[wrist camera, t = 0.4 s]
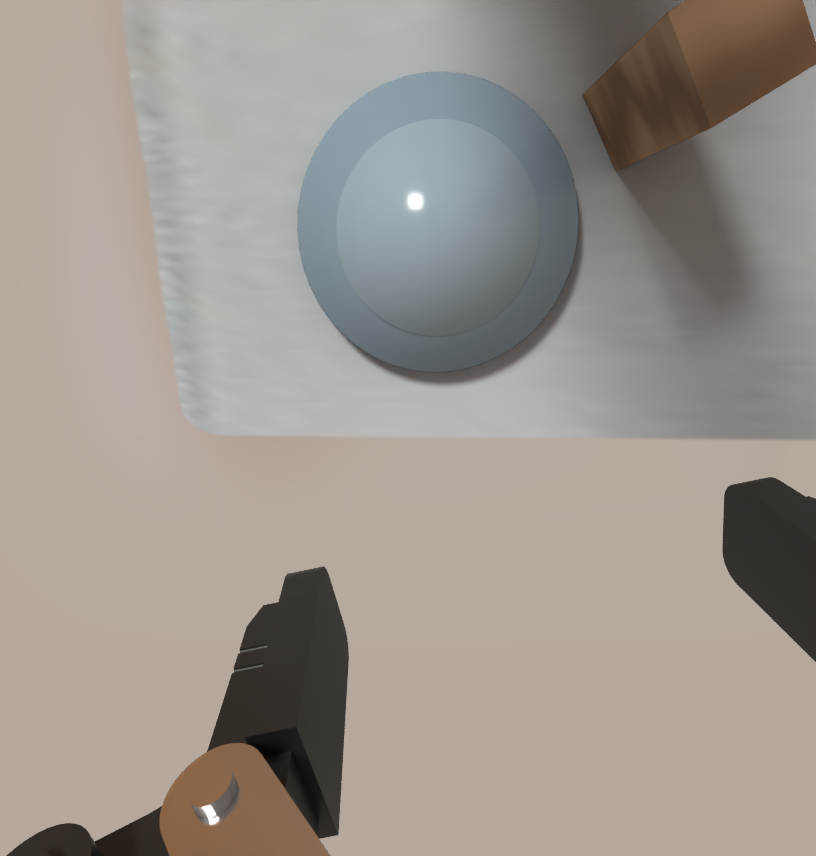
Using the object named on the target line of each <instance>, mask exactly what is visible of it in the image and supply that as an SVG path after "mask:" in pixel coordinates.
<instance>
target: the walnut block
mask: <svg viewBox="0 0 816 856" xmlns="http://www.w3.org/2000/svg"><path fill="white" fill-rule="evenodd" d="M815 64H816V42H815V39H814V36H813V32H812V29H811V26H810V23H809V20H808V16H807V13H806V10H805V7H804V3H803V0H686V1H684V2H683V3H681V4H680V5H678V6H677V7H675V8H674V9H672V10H670V11H669V12H668V13H666V14H665V15H664V16H663V17H662V18H661V19H660V20H659V21H658V22H657V23H656V24H655V25H654V26H653V27H652V28H651V29H650V30H649V31H648V32H647V33H646V34H645V35H644V36H643V37H642V38H641V39H640V40H639V41H638V42H637V43H636V44H635V45H634V46H633V47H631V48H630V49H629V50H628V51H627V52H626V53H625V54H624V55H623V56H622V57H621V58H620V59H619V60H618V61H617V62H616V63H615V64H614V65H613V66H612V67H611V68H610V69H609V70H608V71H607V72H606V73H605V74H604V75H603V76H602V77H601V78H600V79H599V80H598V81H596V82H595V83H594V84H593V85H592V86H591V87H590V88H589V89H588V90H587V91H586V92H585V93H584V94H583V97H584V99H585V102H586V104H587V106H588V109H589V111H590V113H591V116H592V118H593V120H594V122H595V125H596V127H597V129H598V132H599V134H600V136H601V139H602V141H603V143H604V145H605V148H606V150H607V152H608V155H609V157H610V159H611V162H612V164H613V166H614V169H615V171H617V170H620V169H622V168H624V167H626V166H628V165H631V164H633V163H635V162H637V161H639V160H642V159H644V158H646V157H648V156H650V155H653V154H655V153H657V152H659V151H661V150H664V149H666V148H668V147H670V146H672V145H675V144H677V143H679V142H681V141H683V140H686V139H688V138H690V137H692V136H694V135H697V134H699V133H701V132H703V131H705V130H707V129H710V128H712V127H713V126H715V125H717V124H718V123H720V122H722V121H723V120H725V119H726V118H728V117H730V116H731V115H733V114H735V113H736V112H738V111H740V110H741V109H743V108H745V107H746V106H748V105H750V104H751V103H753V102H754V101H756V100H758V99H759V98H761V97H763V96H764V95H766V94H768V93H769V92H771V91H773V90H774V89H776V88H777V87H779V86H781V85H782V84H784V83H786V82H787V81H789V80H791V79H792V78H794V77H796V76H797V75H799V74H800V73H802V72H804V71H805V70H807V69H809V68H810V67H812V66H814V65H815Z"/></svg>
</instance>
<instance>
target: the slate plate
mask: <svg viewBox="0 0 816 856" xmlns="http://www.w3.org/2000/svg"><path fill="white" fill-rule="evenodd" d="M297 230H298V241H299V250H300V254H301V259H302V264H303V268H304V271H305V274H306V277H307V279H308V282H309V285H310V287H311V289H312V291H313V293H314V295H315V297H316V299H317V301H318V303H319V305H320V306H321V308H322V309H323V311H324V312H325V314H326V315H327V317H328V318H329V319H330V320H331V321H332V323H333V324H334V325H335V326H336V327H337V328H338V330H339V331H340V332H341V333H342V334H344V335H345V336H346V337H347V338H348V339H349V340H350V341H351V342H352V343H354V344H355V345H357V346H358V347H359V348H361V349H362V350H364V351H365V352H367V353H368V354H370V355H372V356H374V357H376V358H378V359H380V360H382V361H384V362H387V363H390V364H392V365H395V366H398V367H402V368H406V369H411V370H415V371H426V372H447V371H454V370H460V369H466V368H469V367H473V366H476V365H479V364H483V363H485V362H487V361H489V360H492V359H494V358H496V357H498V356H500V355H501V354H503V353H505V352H506V351H508V350H510V349H511V348H513V347H514V346H516V345H517V344H518V343H519V342H521V341H522V340H523V339H524V338H526V337H527V336H528V335H529V334H530V333H531V332H532V331H533V330H534V329H535V328H536V327H537V326H538V325H539V324H540V323H541V321H542V320H543V319H544V318H545V316H546V315H547V314H548V312H549V311H550V310H551V308H552V307H553V305H554V303H555V302H556V300H557V298H558V297H559V295H560V293H561V291H562V289H563V287H564V284H565V282H566V280H567V278H568V275H569V272H570V269H571V265H572V262H573V259H574V254H575V249H576V243H577V236H578V204H577V195H576V190H575V185H574V180H573V177H572V174H571V171H570V168H569V165H568V162H567V159H566V157H565V155H564V153H563V151H562V149H561V147H560V145H559V143H558V141H557V140H556V138H555V136H554V135H553V133H552V132H551V130H550V129H549V127H548V126H547V125H546V124H545V122H544V121H543V120H542V119H541V118H540V117H539V116H538V115H537V113H536V112H535V111H534V110H533V109H532V108H530V107H529V106H528V105H527V104H526V103H525V102H523V101H522V100H521V99H520V98H519V97H517V96H515V95H514V94H512V93H511V92H509V91H507V90H506V89H504V88H503V87H501V86H498V85H496V84H494V83H492V82H489V81H487V80H485V79H481V78H478V77H474V76H470V75H467V74H460V73H451V72H427V73H420V74H415V75H410V76H405V77H402V78H399V79H397V80H394V81H391V82H388V83H386V84H384V85H382V86H380V87H378V88H376V89H374V90H372V91H370V92H369V93H367V94H366V95H364V96H363V97H362V98H360V99H359V100H358V101H356V102H355V103H353V104H352V105H351V106H350V107H349V108H348V109H347V110H346V111H345V112H344V113H343V114H342V115H341V116H340V117H339V118H338V119H337V120H336V121H335V122H334V124H333V125H332V126H331V128H330V129H329V130H328V131H327V133H326V134H325V135H324V137H323V139H322V140H321V142H320V144H319V145H318V147H317V149H316V151H315V152H314V155H313V157H312V159H311V162H310V164H309V166H308V169H307V171H306V175H305V178H304V182H303V185H302V189H301V194H300V200H299V207H298V228H297Z"/></svg>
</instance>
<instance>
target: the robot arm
mask: <svg viewBox="0 0 816 856" xmlns="http://www.w3.org/2000/svg"><path fill="white" fill-rule="evenodd" d="M723 557H724V562H725V565H726V567H727V569H728V572H729V573H730V575H731V577H732V578H733V580H734V581H735V582H736V583H737V585H739V587H741V588H742V589H743V590H744V591H745V592H746V593H747V594H748V595H749V596H750V597H751V598H752V599H753V600H754V601H755V602H756V603H757V604H758V605H759V606H760V607H761V608H762V609H763V610H764V611H765V612H766V613H767V614H768V615H769V616H770V617H771V618H772V619H773V620H774V621H775V622H776V623H777V624H778V625H779V626H780V627H781V628H782V629H783V630H784V631H785V632H786V633H787V634H788V635H789V636H790V637H791V638H792V639H793V640H794V641H795V642H796V643H797V644H798V645H799V646H800V647H801V648H802V649H803V650H804V651H805V652H806V653H807V654H808V655H809V656H810V657H811V658H812V659H813V660H814V661H815V662H816V499H815V498H812V497H809V496H808V497H805V496H803V495H802V494H800V493H799V492H797V491H796V490H794V489H792V488H791V487H789V486H787V485H786V484H784V483H783V482H781V481H780V480H778V479H776V478H772V477H768V478H764V479H759V480H754V481H749V482H744V483H739V484H734V485H730V486H729V487H728V488H727V490H726V491H725V496H724V524H723ZM348 654H349V653H348V642H347V635H346V630H345V627H344V623H343V620H342V616H341V614H340V610H339V607H338V603H337V600H336V597H335V594H334V591H333V587H332V584H331V581H330V578H329V574H328V572H327V570H326V568H325V567H319V568H314V569H309V570H304V571H299V572H295V573H290V574H287V575H286V577H285V580H284V584H283V588H282V591H281V595H280V599H279V602H278V603H273V604H268V605H263V607H262V608H261V609H260V610H259V612H258V613H257V614H256V616H255V617H254V618H253V619H252V621H251V622H250V623H249V625H248V626H247V628H246V631H245V634H244V638H243V641H242V644H241V647H240V654H238V657H237V659H236V663H235V666H234V673H232V675H231V678H230V681H229V685H228V688H227V691H226V694H225V697H224V701H223V704H222V707H221V710H220V713H219V716H218V719H217V722H216V726H215V729H214V732H213V735H212V738H211V741H210V745H209V748H208V750H207V752H206V753H204V754H203V755H201V756H200V757H199V758H197V759H196V760H195V761H194V762H192V763H191V764H190V765H189V766H188V767H187V768H186V769H185V770H184V771H183V772H182V773H181V774H180V775H179V777H178V778H177V779H176V780H175V782H174V783H173V785H172V786H171V788H170V789H169V791H168V793H167V795H166V797H165V799H164V802H163V805H162V806H161V807H160V808H158V809H157V810H155V811H153V812H151V813H150V814H148V815H146V816H144V817H142V818H140V819H138V820H136V821H134V822H132V823H130V824H128V825H126V826H124V827H123V828H121V829H119V830H116V831H115V832H113V833H111V834H109V835H107V836H105V837H103V838H101V839H99V840H97V841H95V842H94V840H93V839H92V837H91V836H90V834H89V833H88V831H87V830H86V829H85V828H83V827H82V826H81V825H77V824H70V823H68V824H67V823H66V824H60V825H56V826H53V827H50V828H47V829H45V830H43V831H41V832H39V833H37V834H35V835H34V836H32V837H31V838H29V839H27V840H26V841H24V842H23V843H22V844H20V845H19V846H18V847H16V848H15V849H14V850H13V851H12V852H10V853H9V854H8V855H7V856H331V855H330V854H329V853H328V851H327V850H326V848H325V847H324V845H323V844H322V843H321V841H320V840H319V839H320V838H325V837H330V836H335V835H338V830H339V814H340V795H341V780H342V763H343V746H344V729H345V728H344V727H345V712H346V711H345V710H346V695H347V677H348V660H349V656H348Z"/></svg>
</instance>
